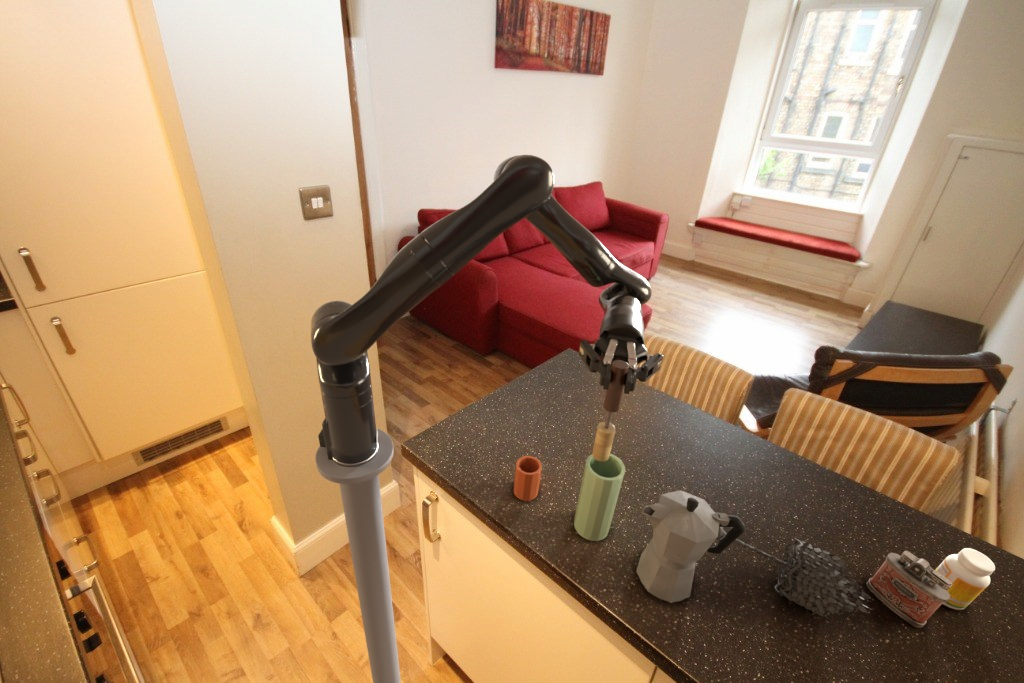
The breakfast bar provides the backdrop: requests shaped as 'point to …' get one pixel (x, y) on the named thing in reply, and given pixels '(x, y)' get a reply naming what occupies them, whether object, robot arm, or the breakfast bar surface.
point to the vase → (598, 497)
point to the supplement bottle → (966, 576)
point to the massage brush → (813, 578)
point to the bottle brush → (610, 411)
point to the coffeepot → (681, 542)
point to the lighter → (910, 587)
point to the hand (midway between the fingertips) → (617, 386)
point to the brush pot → (527, 478)
